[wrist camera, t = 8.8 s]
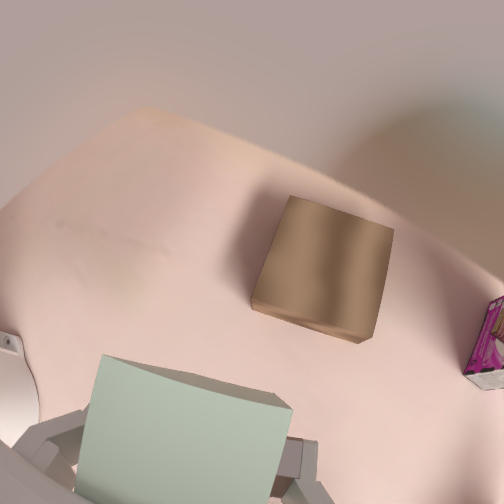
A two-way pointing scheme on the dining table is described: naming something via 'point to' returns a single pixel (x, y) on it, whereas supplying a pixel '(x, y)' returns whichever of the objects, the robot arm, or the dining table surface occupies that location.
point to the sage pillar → (178, 438)
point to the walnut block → (325, 271)
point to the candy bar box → (489, 350)
